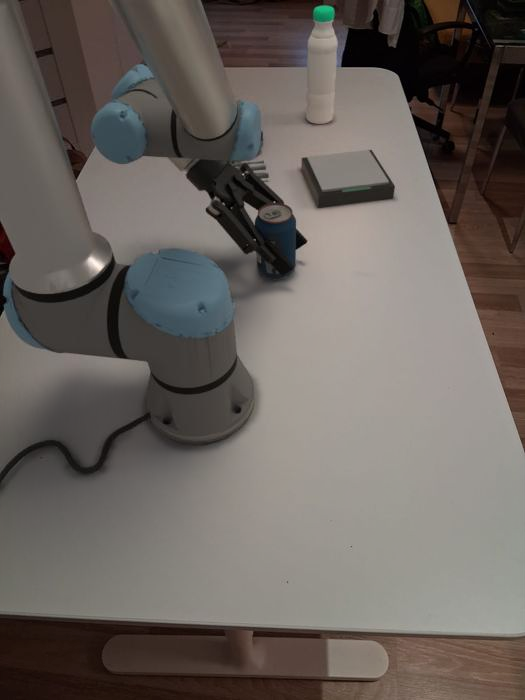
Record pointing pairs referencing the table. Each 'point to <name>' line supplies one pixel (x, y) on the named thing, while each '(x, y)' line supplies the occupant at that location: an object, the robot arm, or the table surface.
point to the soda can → (277, 235)
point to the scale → (346, 178)
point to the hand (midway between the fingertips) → (295, 257)
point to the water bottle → (321, 67)
